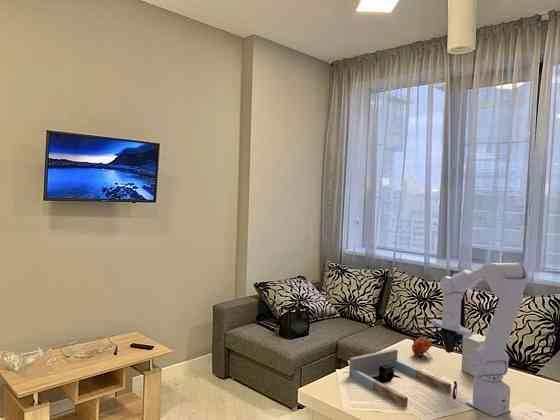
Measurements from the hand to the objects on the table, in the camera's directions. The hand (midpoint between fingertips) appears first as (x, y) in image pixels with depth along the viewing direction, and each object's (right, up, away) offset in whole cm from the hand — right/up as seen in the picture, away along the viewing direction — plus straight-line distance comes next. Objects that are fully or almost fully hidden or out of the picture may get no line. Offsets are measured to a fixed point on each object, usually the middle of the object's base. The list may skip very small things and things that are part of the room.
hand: (449, 351), depth 150 cm
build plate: (-21, -9, 0) cm, 23 cm away
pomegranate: (-2, -9, +21) cm, 23 cm away
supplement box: (+12, -10, +7) cm, 17 cm away
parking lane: (-18, -9, -5) cm, 21 cm away
